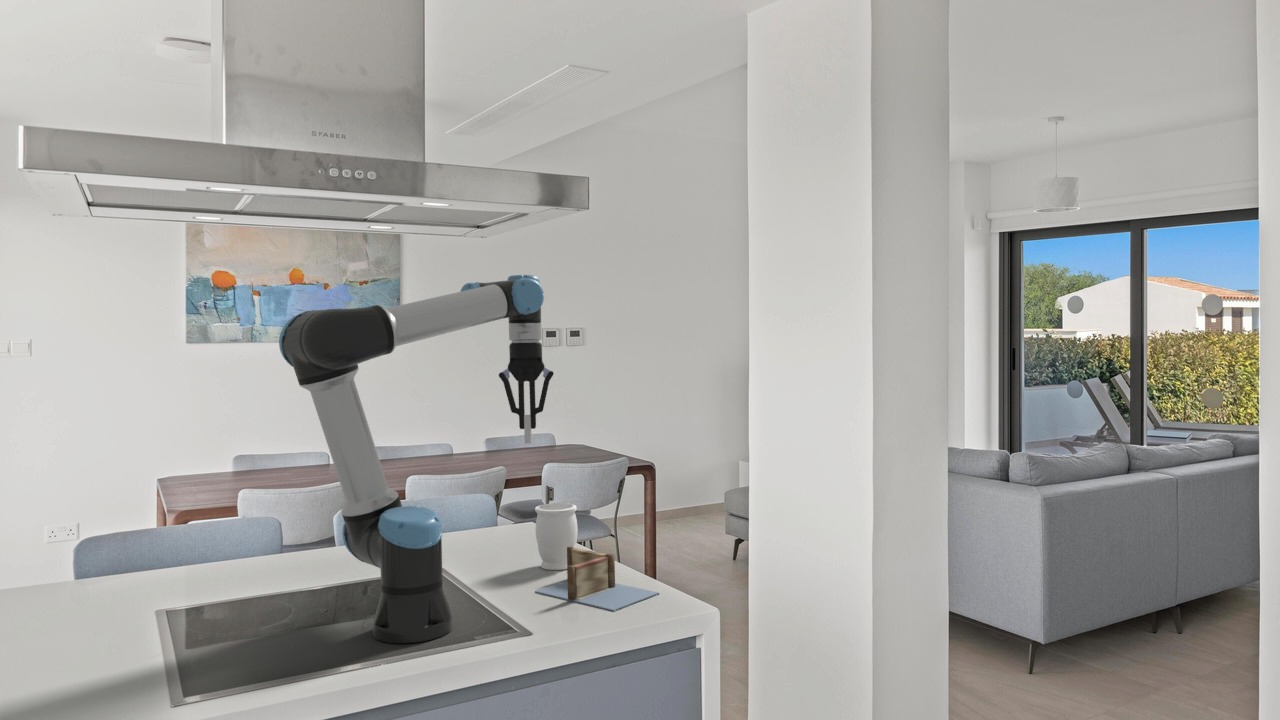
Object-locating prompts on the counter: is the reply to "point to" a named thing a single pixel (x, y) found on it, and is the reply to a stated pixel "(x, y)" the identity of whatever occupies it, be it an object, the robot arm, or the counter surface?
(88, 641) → the counter surface
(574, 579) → the swing panel
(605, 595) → the card
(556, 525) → the jar
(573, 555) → the brown wall panel
